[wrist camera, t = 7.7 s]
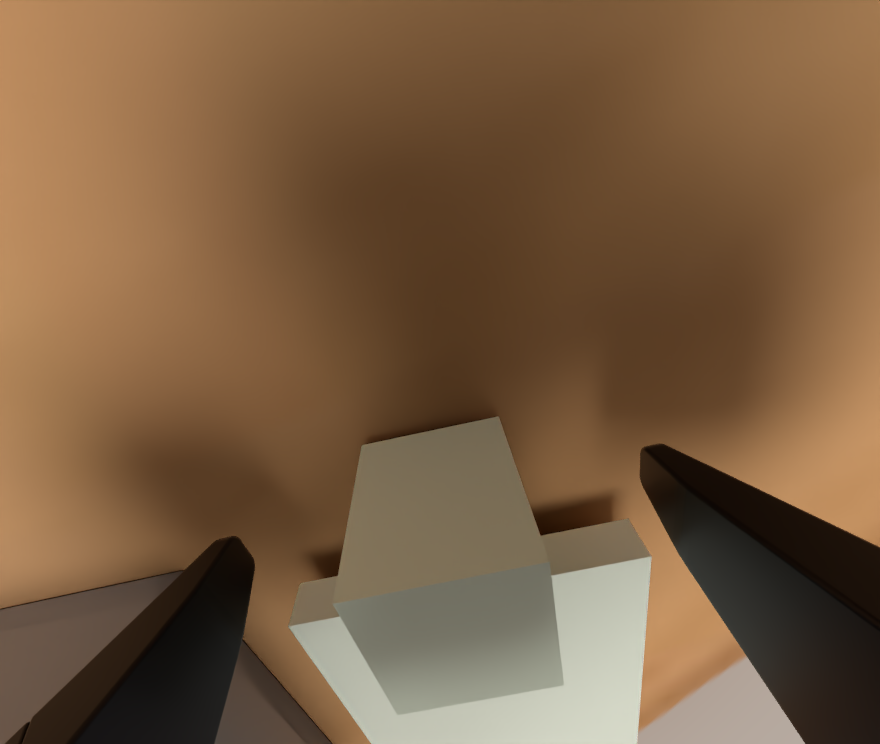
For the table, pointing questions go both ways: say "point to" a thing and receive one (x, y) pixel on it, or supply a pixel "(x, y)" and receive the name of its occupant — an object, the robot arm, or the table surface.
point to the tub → (92, 628)
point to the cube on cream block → (475, 605)
